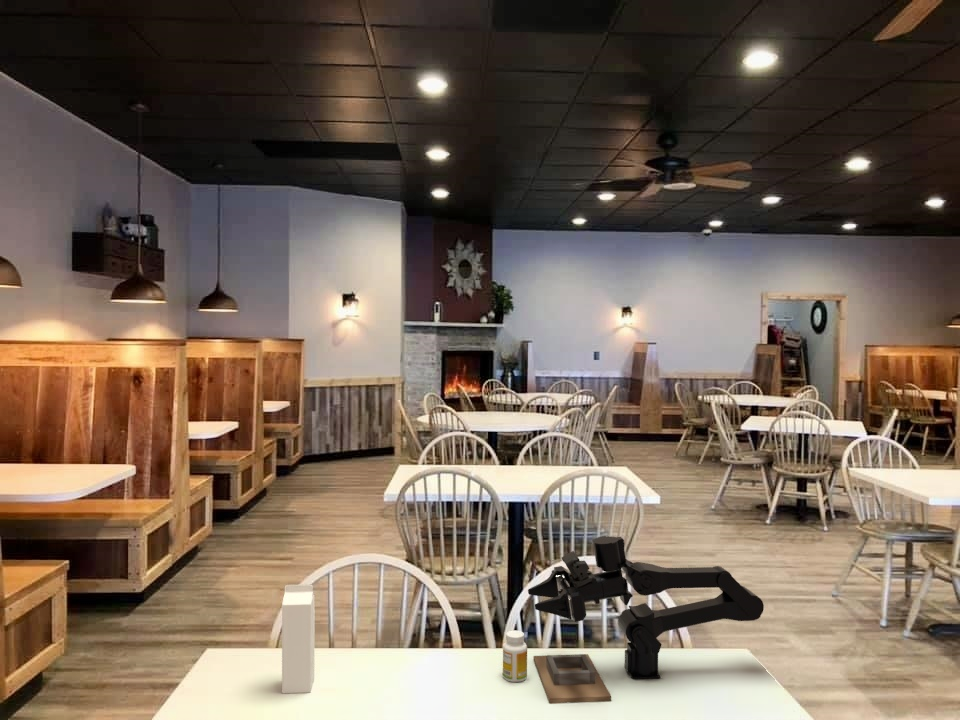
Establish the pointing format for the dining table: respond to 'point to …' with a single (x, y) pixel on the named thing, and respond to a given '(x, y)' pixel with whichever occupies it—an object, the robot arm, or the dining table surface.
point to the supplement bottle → (514, 657)
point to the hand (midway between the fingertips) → (531, 599)
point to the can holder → (570, 679)
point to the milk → (298, 638)
